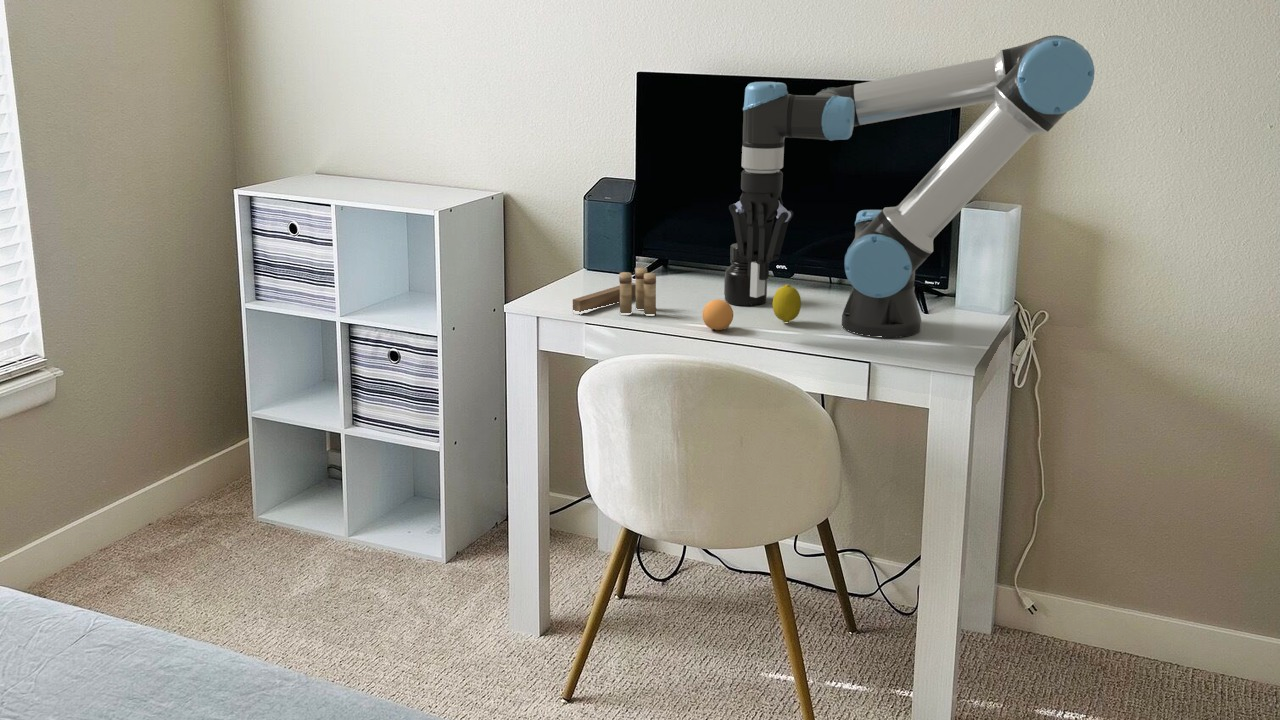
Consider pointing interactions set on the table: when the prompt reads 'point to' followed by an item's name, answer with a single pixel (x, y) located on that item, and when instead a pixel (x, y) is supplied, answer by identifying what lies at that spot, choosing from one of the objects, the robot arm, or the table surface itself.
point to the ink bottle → (740, 281)
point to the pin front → (649, 293)
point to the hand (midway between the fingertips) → (757, 295)
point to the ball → (717, 314)
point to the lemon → (786, 303)
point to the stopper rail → (600, 298)
